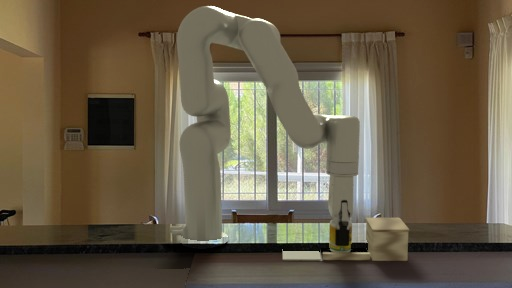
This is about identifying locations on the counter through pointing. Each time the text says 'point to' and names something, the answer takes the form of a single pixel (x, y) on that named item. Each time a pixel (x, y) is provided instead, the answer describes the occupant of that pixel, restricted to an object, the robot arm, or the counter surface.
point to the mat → (301, 255)
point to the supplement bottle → (332, 237)
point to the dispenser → (379, 242)
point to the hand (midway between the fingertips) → (340, 240)
